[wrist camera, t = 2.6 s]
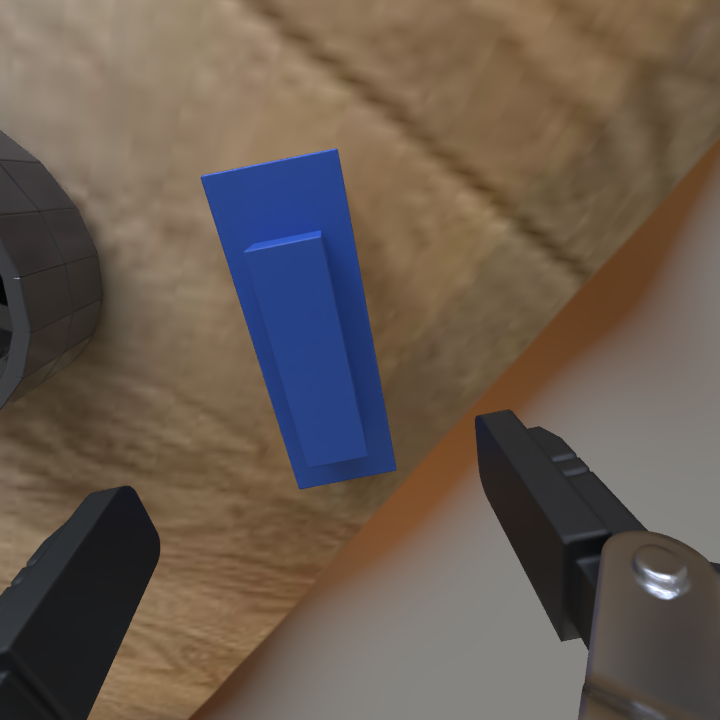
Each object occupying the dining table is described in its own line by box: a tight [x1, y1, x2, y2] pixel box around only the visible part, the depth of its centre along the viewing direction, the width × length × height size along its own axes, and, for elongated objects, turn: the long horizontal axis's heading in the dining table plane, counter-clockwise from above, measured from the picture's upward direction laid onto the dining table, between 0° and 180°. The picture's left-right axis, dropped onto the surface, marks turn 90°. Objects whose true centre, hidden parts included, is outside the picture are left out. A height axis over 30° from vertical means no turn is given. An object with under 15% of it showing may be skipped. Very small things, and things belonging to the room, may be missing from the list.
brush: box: [201, 149, 396, 489], centre depth 18 cm, size 14×5×6 cm, turn 11°
